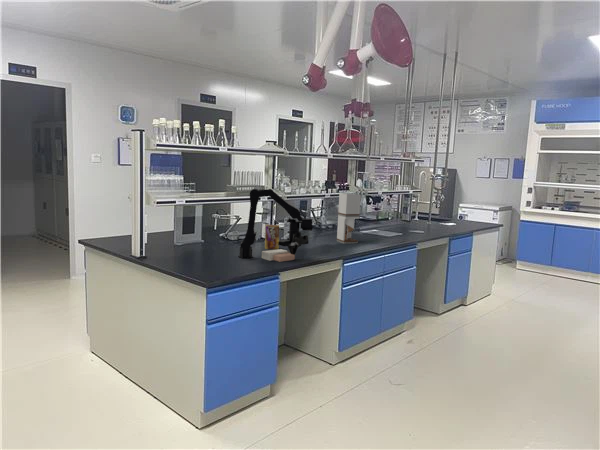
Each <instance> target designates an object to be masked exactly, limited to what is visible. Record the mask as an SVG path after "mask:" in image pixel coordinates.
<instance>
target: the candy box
mask: <svg viewBox="0 0 600 450" xmlns="http://www.w3.org/2000/svg"><path fill="white" fill-rule="evenodd" d="M264 227H265V228H264V231H265V237H264V249H265V250H277V249H279V248H280V245H278V242H279V240H280V225H279V224H266V225H265V226H264Z"/></svg>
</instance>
